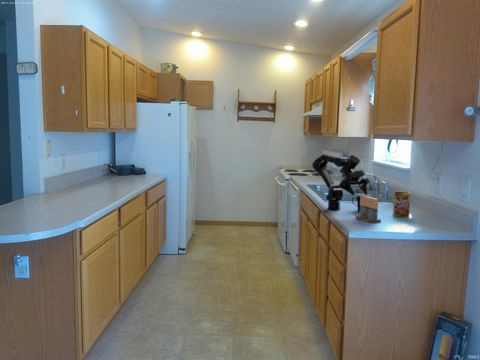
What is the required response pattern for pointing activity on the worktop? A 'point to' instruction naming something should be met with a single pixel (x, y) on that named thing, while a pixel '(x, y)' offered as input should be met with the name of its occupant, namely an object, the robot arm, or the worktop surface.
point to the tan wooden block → (369, 202)
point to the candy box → (401, 204)
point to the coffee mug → (359, 200)
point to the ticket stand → (368, 214)
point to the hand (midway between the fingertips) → (360, 194)
